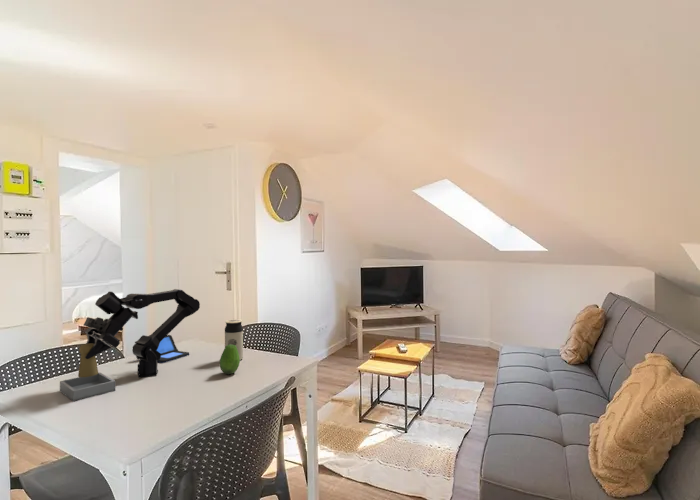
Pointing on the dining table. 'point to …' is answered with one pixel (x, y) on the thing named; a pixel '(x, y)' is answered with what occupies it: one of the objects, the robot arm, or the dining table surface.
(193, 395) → the dining table surface
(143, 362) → the robot arm
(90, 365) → the cork
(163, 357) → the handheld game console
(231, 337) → the travel mug
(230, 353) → the avocado
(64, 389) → the tray
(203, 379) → the dining table surface
